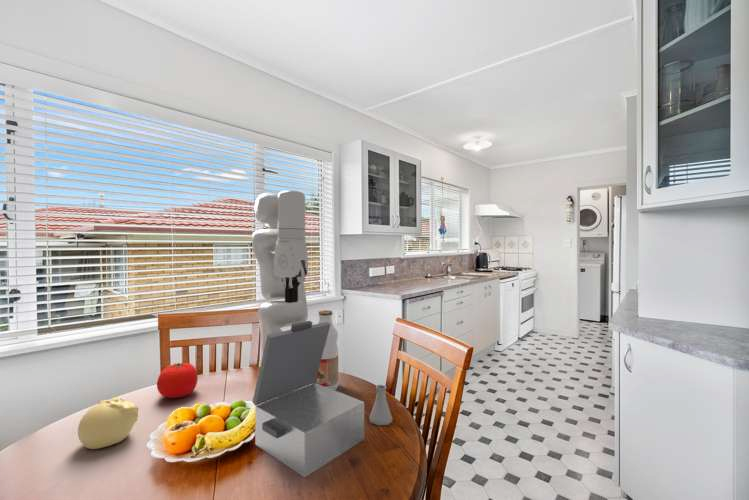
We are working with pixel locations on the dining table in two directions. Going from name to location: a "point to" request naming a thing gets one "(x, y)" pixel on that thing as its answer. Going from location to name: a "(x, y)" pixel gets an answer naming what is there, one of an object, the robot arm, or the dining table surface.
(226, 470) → the dining table surface
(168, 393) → the tomato
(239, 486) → the dining table surface
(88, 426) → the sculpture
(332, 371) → the fruit juice
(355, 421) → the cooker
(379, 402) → the flask
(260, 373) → the lid
